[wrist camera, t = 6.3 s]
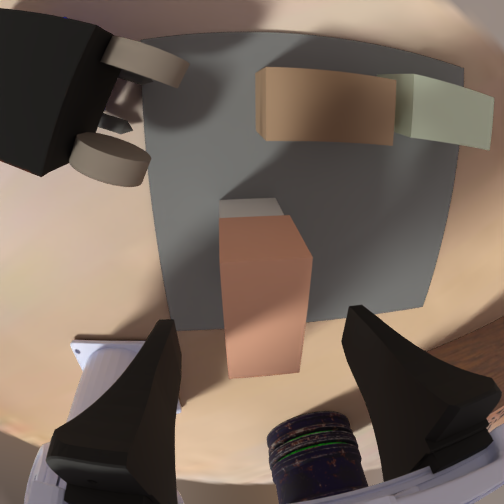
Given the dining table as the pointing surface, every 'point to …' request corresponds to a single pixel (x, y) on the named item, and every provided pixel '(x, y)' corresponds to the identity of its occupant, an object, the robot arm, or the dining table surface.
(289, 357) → the terracotta brick
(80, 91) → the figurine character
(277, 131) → the walnut brick
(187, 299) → the felt mat
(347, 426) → the storage jar
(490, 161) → the dining table surface
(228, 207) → the pale grey brick
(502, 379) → the tissue box cover
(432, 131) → the sage brick
